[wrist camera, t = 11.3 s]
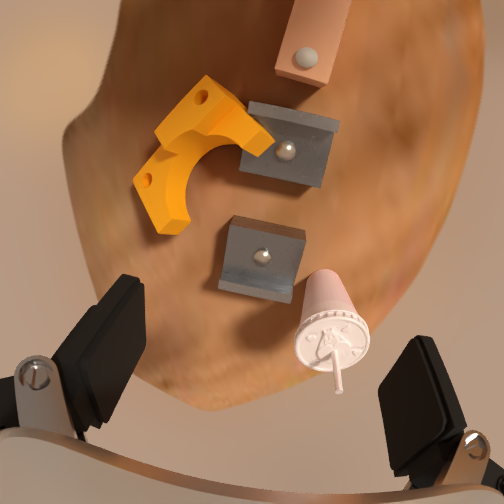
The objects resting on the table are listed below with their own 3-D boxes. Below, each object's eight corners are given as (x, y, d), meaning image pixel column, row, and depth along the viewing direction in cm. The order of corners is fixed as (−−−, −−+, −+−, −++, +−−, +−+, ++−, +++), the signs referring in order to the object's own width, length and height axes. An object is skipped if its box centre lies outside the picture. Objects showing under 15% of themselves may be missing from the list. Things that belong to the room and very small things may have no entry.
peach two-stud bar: (308, -31, 19) (312, -56, 14) (350, -19, 19) (362, -41, 14) (276, 75, 24) (274, 67, 19) (320, 88, 24) (328, 83, 19)
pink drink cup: (303, 314, 34) (305, 418, 22) (285, 267, 32) (281, 369, 20) (357, 299, 33) (384, 400, 20) (345, 249, 30) (376, 346, 18)
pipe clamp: (206, 74, 21) (248, 121, 19) (234, 95, 25) (275, 141, 23) (118, 177, 26) (143, 232, 24) (151, 184, 30) (178, 234, 28)
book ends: (254, 102, 25) (249, 101, 22) (332, 119, 25) (339, 120, 21) (225, 267, 33) (217, 288, 29) (290, 281, 33) (290, 303, 29)
